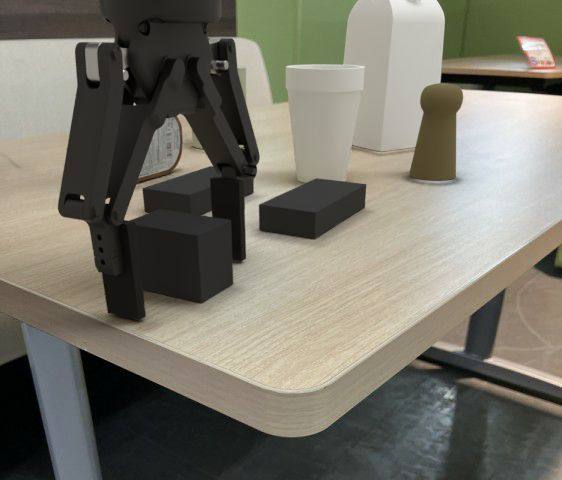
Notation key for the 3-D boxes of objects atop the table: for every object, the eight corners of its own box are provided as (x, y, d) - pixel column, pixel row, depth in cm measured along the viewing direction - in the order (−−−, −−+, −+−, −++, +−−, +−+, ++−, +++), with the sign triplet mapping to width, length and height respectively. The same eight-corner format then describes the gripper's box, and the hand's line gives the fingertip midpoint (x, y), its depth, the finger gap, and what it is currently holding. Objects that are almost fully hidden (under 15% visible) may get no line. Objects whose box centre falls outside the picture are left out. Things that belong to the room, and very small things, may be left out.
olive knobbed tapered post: (455, 171, 85) (467, 82, 79) (456, 181, 79) (469, 86, 74) (410, 169, 86) (419, 81, 80) (408, 179, 81) (417, 85, 75)
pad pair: (144, 211, 66) (141, 188, 65) (211, 187, 76) (210, 165, 75) (314, 239, 58) (315, 212, 57) (365, 207, 68) (366, 183, 67)
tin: (171, 167, 86) (165, 101, 82) (189, 169, 85) (184, 102, 81) (92, 189, 75) (81, 114, 71) (111, 192, 74) (101, 116, 70)
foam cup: (311, 190, 75) (314, 70, 69) (271, 176, 82) (270, 65, 75) (373, 181, 79) (381, 67, 73) (330, 168, 86) (334, 63, 80)
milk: (388, 135, 112) (403, -40, 99) (435, 144, 103) (458, -45, 90) (335, 141, 106) (343, -44, 93) (380, 151, 97) (396, -50, 85)
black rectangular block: (130, 287, 48) (122, 222, 45) (165, 269, 51) (160, 208, 49) (201, 303, 45) (197, 235, 43) (233, 283, 48) (231, 219, 46)
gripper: (47, -84, 26) (113, 361, 37) (303, -39, 46) (299, 245, 56) (-71, -73, 29) (22, 336, 40) (216, -35, 49) (227, 234, 59)
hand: (184, 283), depth 48 cm, fingers open, 13 cm apart
